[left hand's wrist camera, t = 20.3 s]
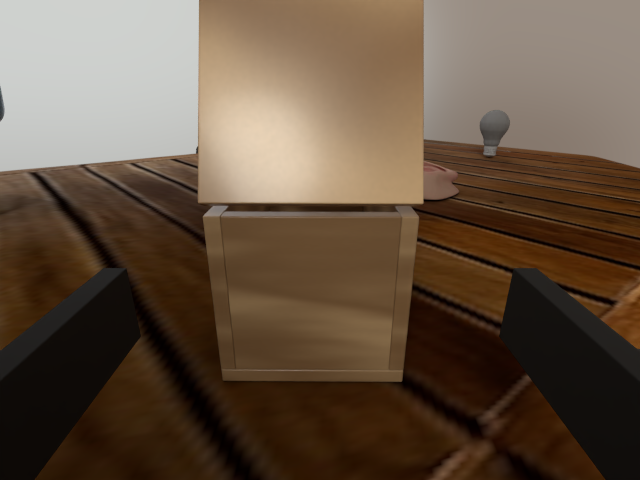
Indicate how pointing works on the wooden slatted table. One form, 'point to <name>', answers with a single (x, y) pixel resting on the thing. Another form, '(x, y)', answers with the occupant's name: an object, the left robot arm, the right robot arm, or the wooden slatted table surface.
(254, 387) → the wooden slatted table surface
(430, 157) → the wooden slatted table surface
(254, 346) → the chest
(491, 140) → the light bulb
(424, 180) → the anatomical model
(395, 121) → the lid
